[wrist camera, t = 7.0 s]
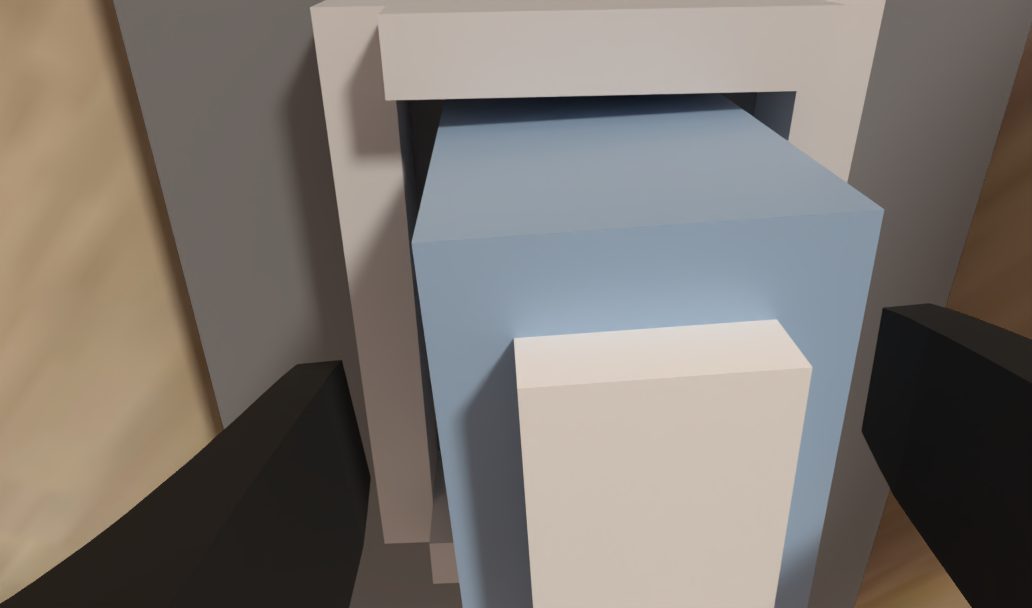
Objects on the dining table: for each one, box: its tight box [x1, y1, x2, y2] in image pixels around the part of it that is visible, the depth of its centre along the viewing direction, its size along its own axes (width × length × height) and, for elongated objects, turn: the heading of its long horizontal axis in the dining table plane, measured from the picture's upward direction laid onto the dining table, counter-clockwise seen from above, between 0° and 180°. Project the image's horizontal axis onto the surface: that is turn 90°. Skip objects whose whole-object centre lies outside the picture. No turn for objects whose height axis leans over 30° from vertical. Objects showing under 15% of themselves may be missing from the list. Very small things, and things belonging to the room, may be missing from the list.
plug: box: [412, 93, 884, 608], centre depth 10 cm, size 4×6×7 cm, turn 4°
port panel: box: [113, 0, 1032, 608], centre depth 12 cm, size 14×20×4 cm
